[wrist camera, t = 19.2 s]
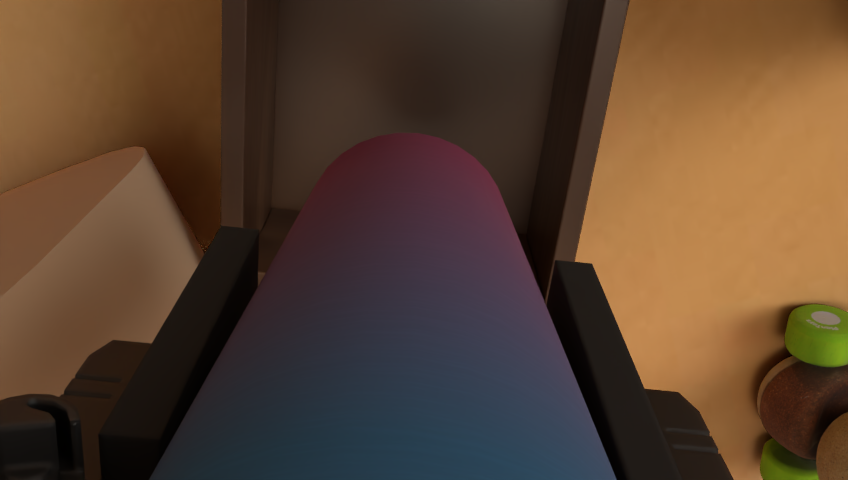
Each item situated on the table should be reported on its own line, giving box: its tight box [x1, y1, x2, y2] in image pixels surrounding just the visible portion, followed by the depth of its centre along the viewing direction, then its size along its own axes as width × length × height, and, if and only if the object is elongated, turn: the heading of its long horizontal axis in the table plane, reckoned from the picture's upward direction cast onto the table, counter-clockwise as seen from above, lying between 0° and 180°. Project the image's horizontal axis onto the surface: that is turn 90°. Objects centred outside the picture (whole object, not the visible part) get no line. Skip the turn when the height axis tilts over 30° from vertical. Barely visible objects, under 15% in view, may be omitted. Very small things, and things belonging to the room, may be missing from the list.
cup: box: [149, 133, 617, 480], centre depth 13 cm, size 7×7×15 cm
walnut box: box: [221, 0, 629, 304], centre depth 30 cm, size 13×13×7 cm
